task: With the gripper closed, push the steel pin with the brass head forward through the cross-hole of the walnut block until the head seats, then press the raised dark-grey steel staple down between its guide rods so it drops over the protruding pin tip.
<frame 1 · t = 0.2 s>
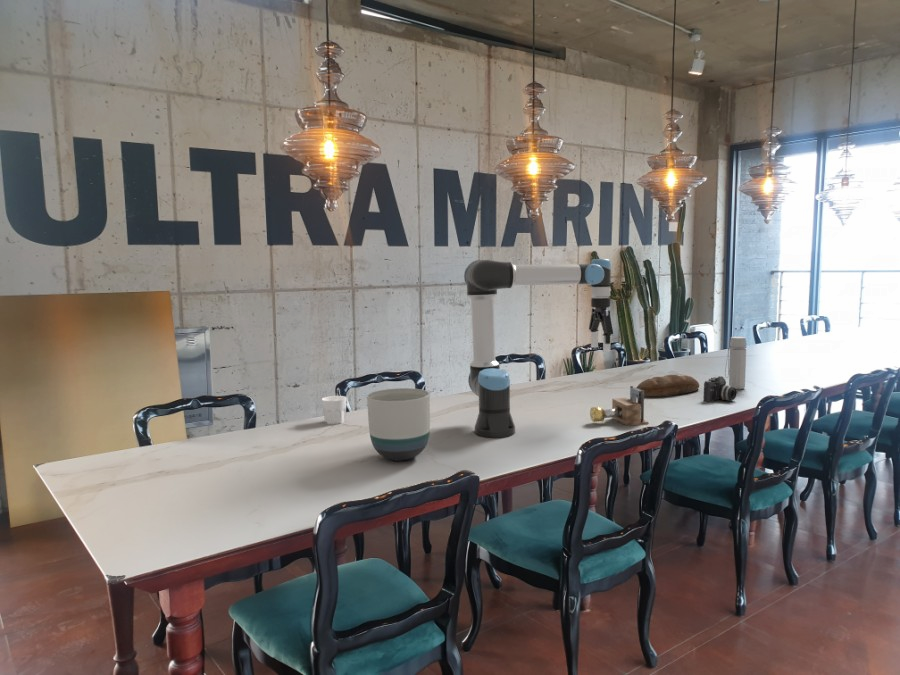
hand: (600, 349, 247), 27 cm above the table, fingers open, 13 cm apart
cup: (335, 422, 251), on the table
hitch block: (626, 421, 240), on the table
keeper: (636, 397, 239), point 9 cm above the table, slide at 5.0 cm
pin: (608, 413, 238), point 4 cm above the table, slide at 0.0 cm
camera: (720, 400, 272), on the table
bread: (667, 393, 291), on the table
planter: (400, 458, 201), on the table
water bottle: (734, 388, 296), on the table
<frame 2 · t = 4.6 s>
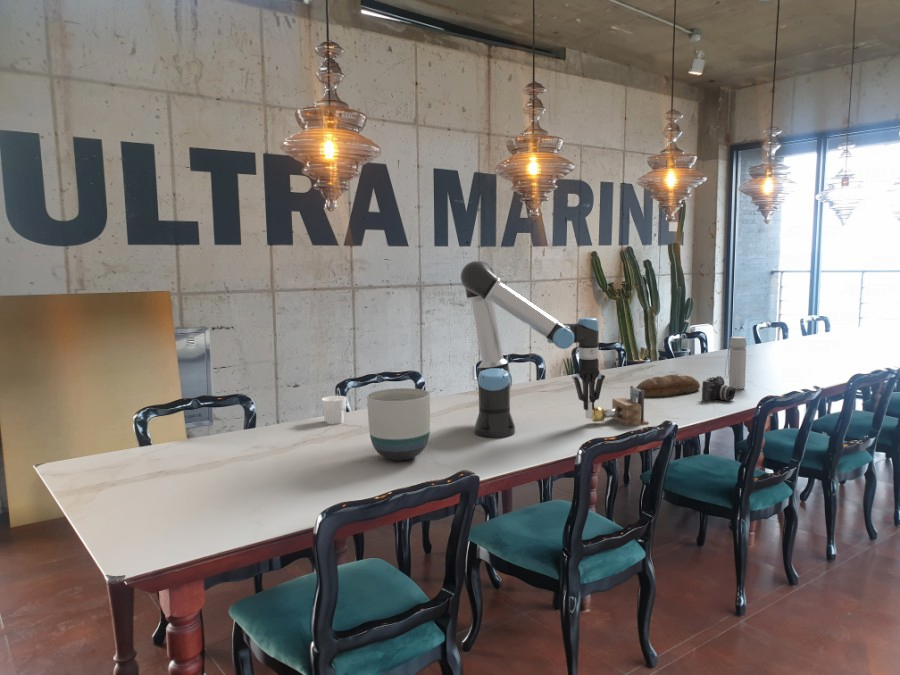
hand: (588, 417, 236), 3 cm above the table, fingers closed
pin: (608, 413, 238), point 4 cm above the table, slide at 0.1 cm, touching gripper
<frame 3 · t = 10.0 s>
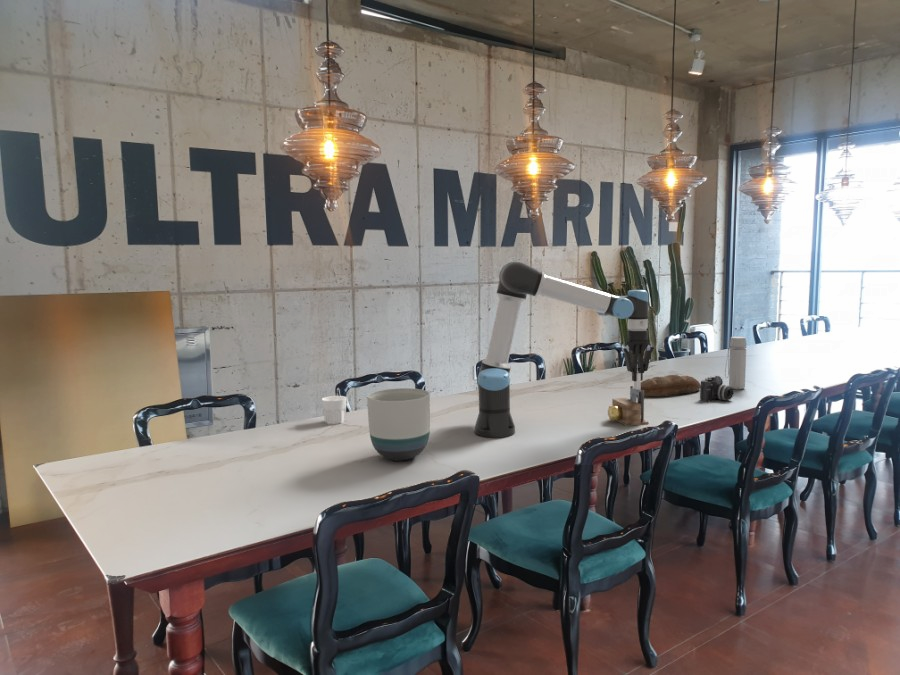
hand: (637, 389, 239), 13 cm above the table, fingers closed
keeper: (636, 397, 239), point 9 cm above the table, slide at 4.8 cm, touching gripper
pin: (625, 412, 239), point 4 cm above the table, slide at 7.5 cm, touching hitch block
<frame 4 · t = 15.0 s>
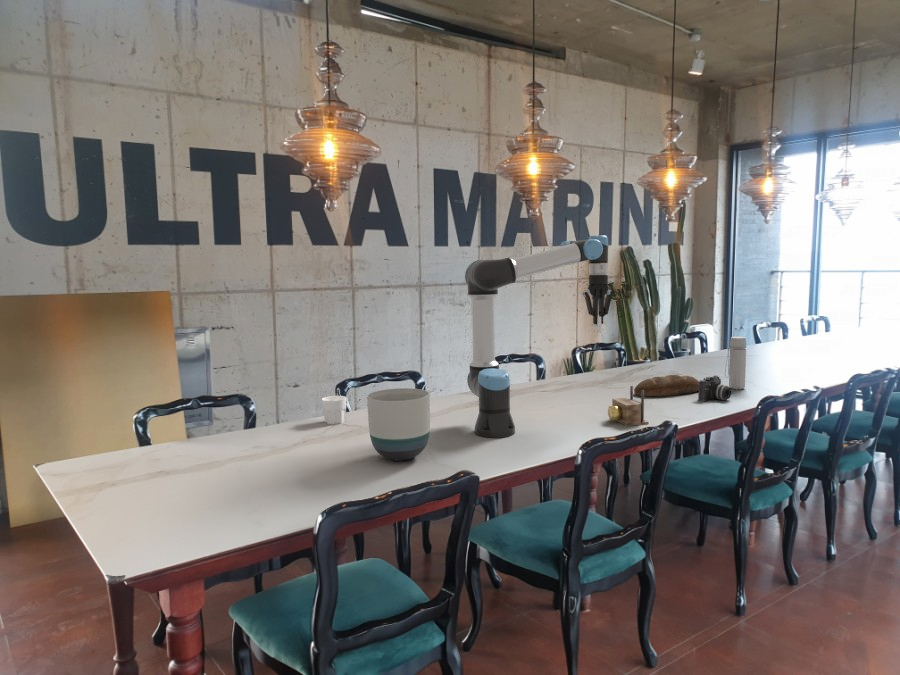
hand: (598, 332, 247), 34 cm above the table, fingers closed
keeper: (636, 409, 240), point 4 cm above the table, slide at 0.0 cm
at the end: pin slide at 7.5 cm; keeper slide at 0.0 cm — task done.
